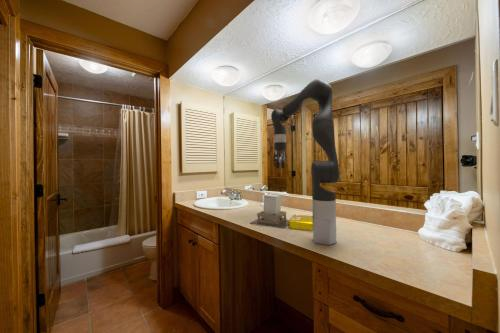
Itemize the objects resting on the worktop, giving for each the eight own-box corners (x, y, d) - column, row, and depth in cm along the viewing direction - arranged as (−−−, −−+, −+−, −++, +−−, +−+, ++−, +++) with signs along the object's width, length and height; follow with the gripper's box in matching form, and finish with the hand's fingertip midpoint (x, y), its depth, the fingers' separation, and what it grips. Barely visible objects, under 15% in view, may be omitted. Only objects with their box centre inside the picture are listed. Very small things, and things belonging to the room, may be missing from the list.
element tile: (319, 232, 99) (319, 222, 99) (287, 229, 104) (287, 219, 104) (321, 224, 112) (321, 215, 112) (293, 221, 118) (293, 213, 118)
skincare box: (263, 221, 116) (262, 195, 116) (268, 219, 121) (268, 193, 121) (276, 223, 111) (275, 196, 111) (281, 221, 116) (281, 194, 116)
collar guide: (284, 228, 104) (283, 217, 104) (249, 223, 114) (249, 213, 114) (293, 221, 117) (293, 211, 117) (262, 217, 127) (261, 208, 127)
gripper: (281, 140, 120) (282, 168, 120) (289, 142, 132) (290, 168, 132) (269, 141, 124) (270, 168, 124) (278, 143, 136) (279, 168, 136)
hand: (280, 168), depth 128 cm, fingers open, 8 cm apart
